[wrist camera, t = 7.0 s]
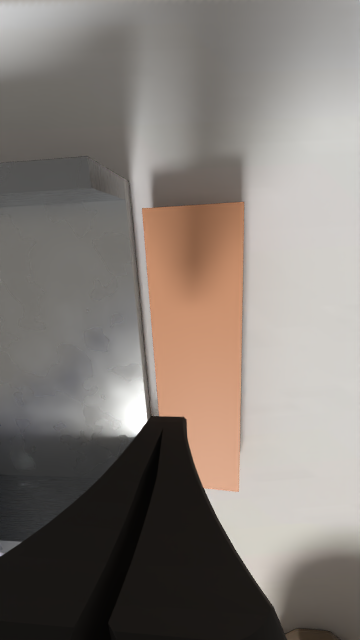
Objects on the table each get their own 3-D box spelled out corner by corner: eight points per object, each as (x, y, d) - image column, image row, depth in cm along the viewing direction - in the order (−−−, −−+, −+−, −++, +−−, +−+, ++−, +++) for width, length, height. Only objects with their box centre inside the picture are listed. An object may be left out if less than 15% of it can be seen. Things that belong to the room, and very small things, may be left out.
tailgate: (168, 469, 20) (238, 477, 19) (164, 483, 19) (238, 491, 18) (148, 209, 15) (243, 203, 14) (142, 208, 14) (244, 201, 13)
